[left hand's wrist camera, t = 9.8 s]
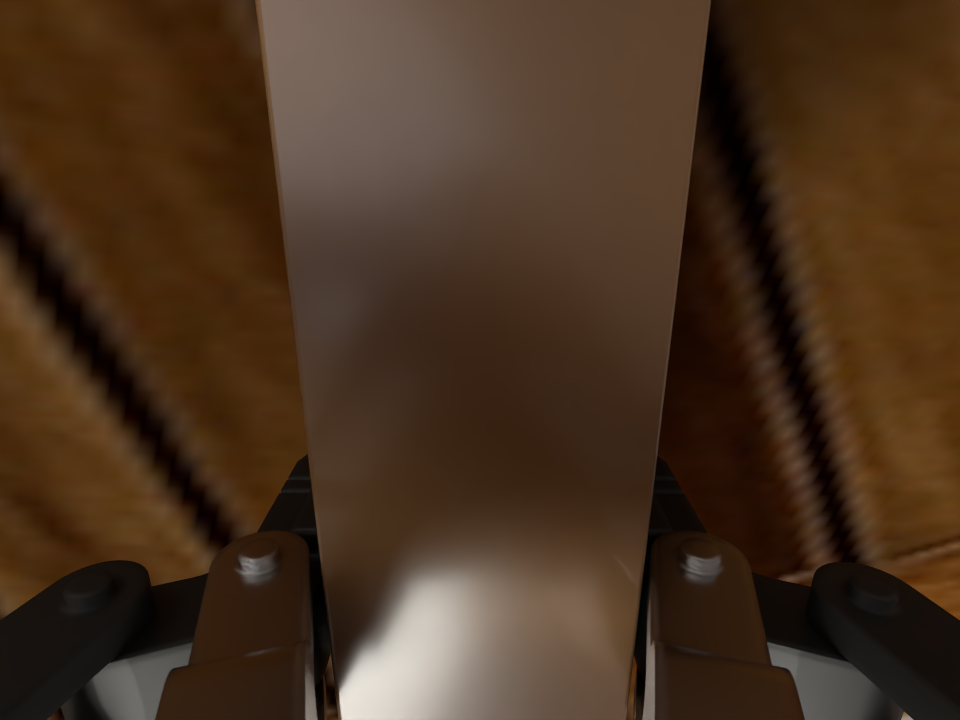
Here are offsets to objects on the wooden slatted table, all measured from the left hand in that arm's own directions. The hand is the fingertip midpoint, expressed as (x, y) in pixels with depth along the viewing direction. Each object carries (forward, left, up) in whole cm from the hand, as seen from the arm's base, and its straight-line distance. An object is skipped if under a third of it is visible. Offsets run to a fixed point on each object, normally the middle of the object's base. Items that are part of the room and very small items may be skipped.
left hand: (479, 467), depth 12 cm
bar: (+7, +20, -2) cm, 21 cm away
